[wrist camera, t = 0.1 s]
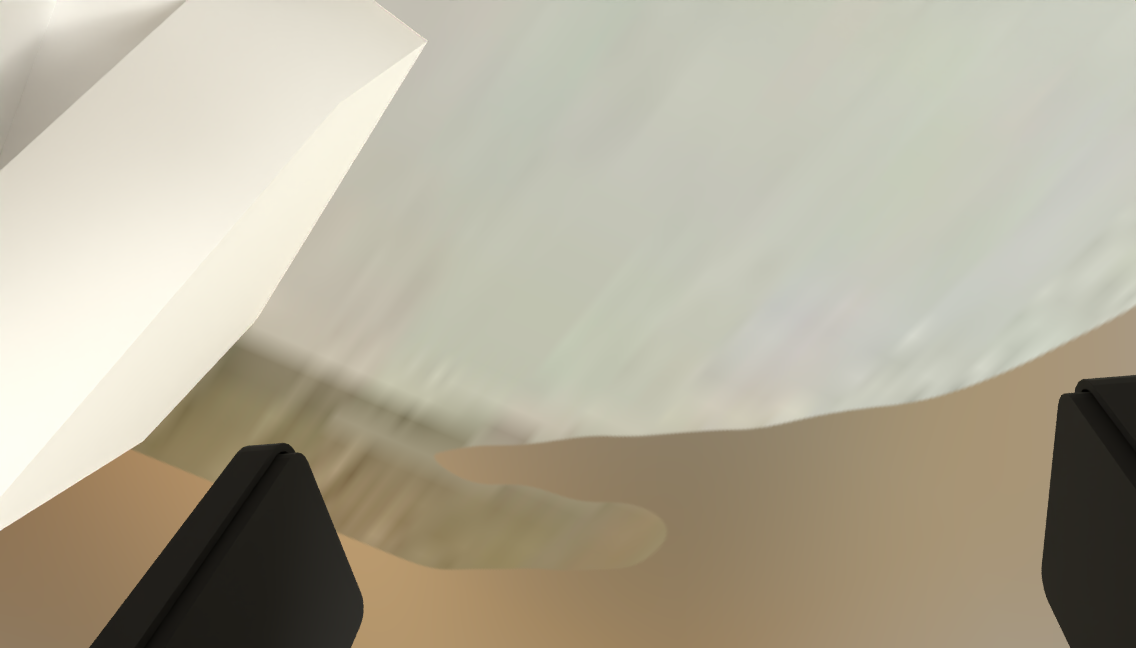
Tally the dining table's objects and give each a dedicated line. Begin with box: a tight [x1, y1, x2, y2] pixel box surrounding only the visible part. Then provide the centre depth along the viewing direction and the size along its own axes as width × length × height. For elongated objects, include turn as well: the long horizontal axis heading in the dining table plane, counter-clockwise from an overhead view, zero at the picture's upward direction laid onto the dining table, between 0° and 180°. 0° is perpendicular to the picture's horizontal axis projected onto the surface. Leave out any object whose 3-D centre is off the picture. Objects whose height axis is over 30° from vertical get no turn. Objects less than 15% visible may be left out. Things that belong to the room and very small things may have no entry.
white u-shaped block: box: [0, 0, 427, 530], centre depth 31 cm, size 19×15×25 cm
